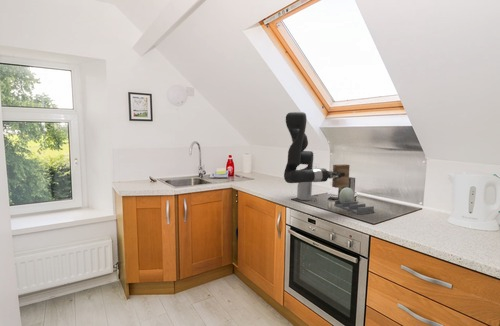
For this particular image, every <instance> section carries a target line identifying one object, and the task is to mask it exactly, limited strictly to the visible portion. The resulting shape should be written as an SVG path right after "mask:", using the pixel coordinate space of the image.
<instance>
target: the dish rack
mask: <svg viewBox="0 0 500 326" xmlns="http://www.w3.org/2000/svg"><path fill="white" fill-rule="evenodd" d="M333 206H334V207H337V208H340V209H342V210H345V211H347V212H351V213H353V214H356V215H366V214H372V213H373V214H374V213H375V210H374V209H375V206H374V205H370V206H367V205H366V203H359V201H358V200H354V201H353V202H344V203H341V202H340V200H338V199H335V200H334V204H333Z"/></svg>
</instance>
